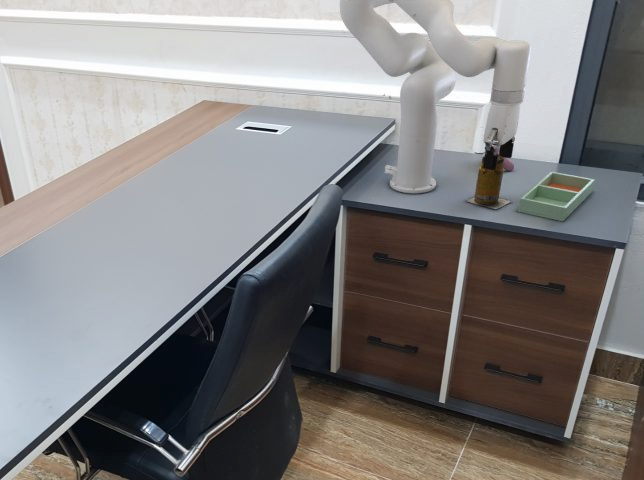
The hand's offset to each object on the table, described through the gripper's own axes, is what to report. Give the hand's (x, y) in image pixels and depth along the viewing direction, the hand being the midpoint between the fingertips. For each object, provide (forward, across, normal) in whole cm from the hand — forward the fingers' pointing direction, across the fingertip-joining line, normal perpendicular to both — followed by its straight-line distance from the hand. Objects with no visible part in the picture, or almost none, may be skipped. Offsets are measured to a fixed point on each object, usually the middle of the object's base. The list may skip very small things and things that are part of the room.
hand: (497, 163), depth 185 cm
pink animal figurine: (+11, -26, -9) cm, 30 cm away
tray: (+11, -9, +13) cm, 20 cm away
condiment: (+11, 0, -1) cm, 11 cm away
